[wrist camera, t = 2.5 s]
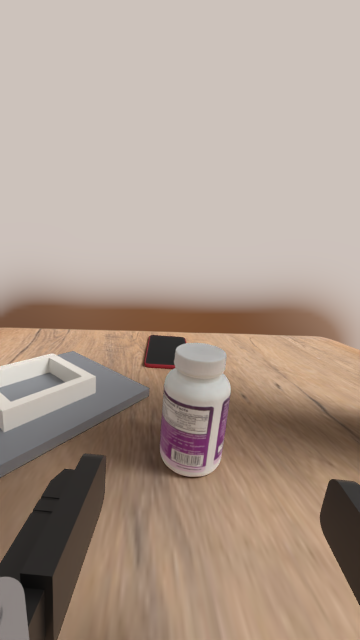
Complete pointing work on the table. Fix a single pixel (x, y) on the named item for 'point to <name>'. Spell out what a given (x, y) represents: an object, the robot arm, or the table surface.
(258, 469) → the table surface
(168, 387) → the pill bottle
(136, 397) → the socket plate
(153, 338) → the smartphone
